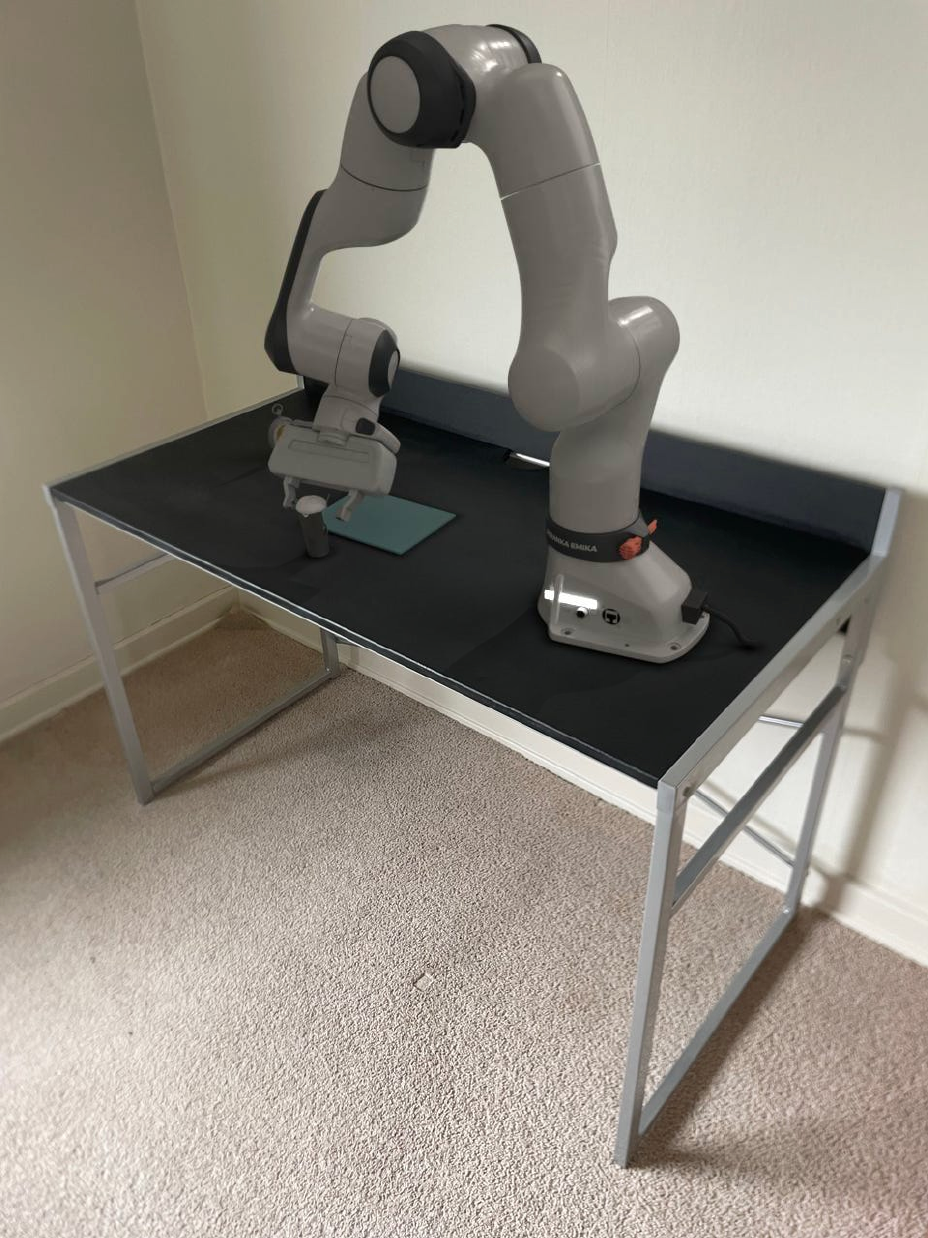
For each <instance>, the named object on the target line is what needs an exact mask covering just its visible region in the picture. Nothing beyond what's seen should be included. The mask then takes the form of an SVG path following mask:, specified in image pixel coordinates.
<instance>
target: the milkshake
mask: <svg viewBox="0 0 928 1238" xmlns="http://www.w3.org/2000/svg"><path fill="white" fill-rule="evenodd" d="M330 494H331V493H328V495H327V498H326V499H325V498H324V497H322V496H319V495H315V494H312V495H304V496H302V497H300V498H299V499H298V500H299V501H298V502H297V504H296V514H297V517H298V520H299V524H300V528H301V531H302V535H303V539H304V543H305V547H306V551H307V555H308V556H310V557H311V558H316V559H317V558H322V557H326V556H327V555H328V554H330V540H329V531H328V525H327V507H328V500H329V497H330Z"/></svg>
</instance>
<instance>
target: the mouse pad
mask: <svg viewBox="0 0 928 1238" xmlns="http://www.w3.org/2000/svg"><path fill="white" fill-rule="evenodd" d="M350 498H351V497H349V496H348V494H347V495H345V496H344V497H343V498H340V499H339V500H337V501H335V502H334V503H332V504H331V505H328V506H327V525H328V533H333V534H335V535H338V536H341V537H345V538H347V539H351V540H353V541H356V542H359V543H363V544H366V545H369V546H371V547H375V548H377V549H380V550H384V551H387V552H389V553H393V554H396V555H398V556H402V555H403V554H405V553H406V552H408V551H409V550H411V549H412V548H413V547H415V546H417V545H418V544H419V543H421V542H422V541H423V540H424V539H426V538H428V537H429V536H430V535H432V534H433V533H435V532H436V531H437V530H439V529H440V528H442V527H443V526H445V525H446V524H448V523H449V522H451V521H452V520H453V519H454V518H456V516H457V515H456V514H455V513H453V512H452V513H451V512H448V511H444V510H441V509H437V508H434V507H431V506H428V505H423V504H421V503H417V502H414V501H410V500H407V499H403V498H400V497H398V496H397V497H396V496H392V495H389V494H387V495H386V496H385V497H384V498H382V499H380V498H375V497H370V496H364V499H363V502H362V503H361V504H360V505H359V506H358V507H357V508H356V509H355V510H354V511H353V512H352V513H351V516H350V519H349V521H348V522H344V521H340V520H338V519H336V518H335V514H336V512H337V508H338V506H341V507H343V506H344V505H345V503H346V502H347V501H348V500H349V499H350Z"/></svg>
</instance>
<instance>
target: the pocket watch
mask: <svg viewBox="0 0 928 1238" xmlns="http://www.w3.org/2000/svg"><path fill="white" fill-rule="evenodd" d="M276 406H279V407H280V409H279V408H277V409H276V412H275V411H274V409H275V407H276ZM283 409H284V408H283V405H282V404H280V403H276V404H274V405H273V406H272V407H271V413H273V415H276V416H277V417H276V418H275V419H274V420H273V421H271V424H270V426H269V428H268V432H267V442H268V445H269V447H270V448H271V450H272V451H273V449H274V447H275V445H276V443H277V441H278V439H279V438H280V436H281V434H282V431H283V428H284V427H285V425H287V424H289V423H291V422H293V421H294V420H293V419H291V418H290V417H288V416H282V413H283ZM292 426H294V425H292Z"/></svg>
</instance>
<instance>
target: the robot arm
mask: <svg viewBox="0 0 928 1238" xmlns="http://www.w3.org/2000/svg"><path fill="white" fill-rule="evenodd" d="M469 143H470V144H472V145H474V146H476V147H478V148H479V149H480V150H481V151H482V152H483V154H484V155H485V157H486V158H487V160H488V162H489V165H490V168H491V171H492V174H493V177H494V183H495V186H496V189H497V194H498V196H499V197H498V198H499V200H500V205H501V207H502V211H503V215H504V218H505V223H506V225H507V229H508V233H509V237H510V240H511V244H512V249H513V253H514V256H515V260H516V265H517V269H518V275H519V276H518V277H519V283H520V285H519V286H520V301H521V304H520V305H521V306H520V307H521V309H520V313H521V314H520V330H519V337H518V338H519V340H518V343H517V348H516V351H515V354H514V356H513V358H512V361H511V363H510V365H509V368H508V372H507V388H508V394H509V397H510V400H511V403H512V405H513V407H514V409H515V411H516V412H517V413H518V415H519V416H520V417H521V418H522V420H523V421H525V422H526V423H527V424H528V425H529V426H531V427H532V428H534V429H536V430H539V431H542V432H546V433H547V432H548V433H554V432H555V433H556V432H559V434H558V437H557V438H556V440H555V441H554V443H553V446H552V448H551V451H550V455H549V461H548V464H549V465H548V466H549V467H548V468H549V469H548V471H549V473H548V474H549V477H548V479H549V486H548V487H549V492H548V494H549V500H548V501H549V507H548V508H547V510H546V514H545V539H546V543H547V546H548V549H547V550H548V551H547V562H546V569H545V574H544V580H543V584H542V588H541V592H540V594H539V598H538V600H537V611H538V614H539V615H540V617H541V619H542V620H543V621H544V622H545V623H546V625H547V631H548V632H547V633H548V636H549V638H550V640H552V641H553V642H558V643H563V644H566V645H571V646H576V647H580V648H585V649H591V650H595V651H599V652H604V653H609V654H613V655H617V656H623V657H628V658H632V659H636V660H640V661H646V662H651V663H656V664H665V663H668V662H671V661H674V660H676V659H678V658H680V657H682V656H684V655H685V654H686V653H688V652H689V651H691V650H692V649H693V648H694V647H695V646H696V645H697V644H698V643H699V642H700V640H702V638H703V636H704V635H705V633H706V631H707V630H708V627H709V624H710V616H711V617H713V618H716V619H718V620H719V621H721V622H723V623H724V624H725V625H727V626H728V627H730V629H731V630H732V632H733V634H734V636H735V637H736V639H737V640H738V642H740V644H742V645H744V646H747V647H752V648H757V647H758V644H759V641H758V640H752V639H748V638H747V637H746V636H744V635H743V633H742V631H741V629H740V627H739V626H738V624H737V623H736V622H735V621H733V619H731V618H730V617H728V615H725V614H724V613H722V612H720V611H718V610H715V609H714V608H712V607H710V606H708V605H707V599H708V591H706V590H700V589H696V588H693V586H692V581H691V579H690V576H689V574H688V573H687V572H686V571H685V570H684V569H683V568H682V567H680V565H678V564H677V563H676V562H675V561H674V560H673V559H671V557H669V556H668V555H667V554H666V553H665V552H664V551H663V550H662V549H661V548H659V546H658V545H656V544H655V543H654V542H653V541H652V540H651V534H652V533H654V531H655V530H656V529H657V522H658V520H657V519H653V521H652V522H650V524H647V523H646V522H645V519H644V516H643V514H642V511H641V509H640V508H639V505H640V491H641V490H640V489H641V476H642V464H643V463H642V462H643V458H644V457H643V456H644V451H645V446H646V442H647V438H648V434H649V431H650V427H651V424H652V420H653V417H654V414H655V409H656V407H657V402H658V399H659V395H660V393H661V390H662V386H663V383H664V380H665V378H666V375H667V373H668V371H669V370H670V367H671V366H672V363H673V362H674V360H675V358H676V356H677V354H678V352H679V349H680V342H681V332H680V327H679V326H680V325H679V324H678V321H677V318H676V316H675V314H674V313H673V311H672V310H671V309H670V308H669V307H668V305H666V304H665V302H663V301H661V300H660V299H658V298H655V297H653V296H650V295H629V296H621V297H615V298H611V299H609V280H610V279H609V278H610V272H611V271H610V270H611V265H612V261H613V258H614V256H615V253H616V250H617V248H618V231H617V230H618V229H617V227H616V222H615V217H614V214H613V210H612V205H611V201H610V197H609V194H608V193H609V192H608V189H607V185H606V181H605V177H604V173H603V169H602V165H601V164H600V163H601V161H600V157H599V153H598V149H597V147H596V142H595V140H594V135H593V134H592V130H591V127H590V125H589V122H588V118H587V116H586V113H585V111H584V108H583V106H582V104H581V101H580V99H579V96H578V93H577V92H576V90H575V88H574V86H573V83H572V81H571V79H570V78H569V76H568V74H567V73H566V72H565V71H564V70H563V69H561V68H560V67H558V66H556V65H554V64H551V63H545V62H543V60H542V57H541V54H540V52H539V50H538V48H537V46H536V44H535V43H534V42H533V41H532V39H531V38H530V37H529V36H528V35H527V34H525V33H524V32H522V31H521V30H520V29H517V28H515V27H512V26H508V25H505V24H500V23H489V24H487V25H477V24H461V23H451V24H444V25H439V26H434V27H430V28H426V29H422V30H409V31H406V32H403V33H400V34H398V35H395V36H394V37H392V38H390V39H389V40H387V41H386V42H385V43H383V44H382V45H381V46H380V47H379V48H378V49H377V50H376V52H375V53H374V54H373V56H372V58H371V61H370V63H369V66H368V70H367V71H365V73H364V74H362V76H361V77H360V79H359V81H358V82H357V85H356V88H355V91H354V94H353V97H352V100H351V104H350V108H349V111H348V115H347V119H346V124H345V128H344V133H343V137H342V143H341V149H340V157H339V162H338V163H339V165H338V168H337V172H336V175H335V177H334V179H333V181H332V182H331V184H330V185H329V186H328V187H327V188H324V189H320V190H316V191H315V192H314V194H313V195H312V197H311V198H310V200H308V203H307V205H306V207H305V209H304V211H303V214H302V216H301V219H300V221H299V225H298V228H297V231H296V234H295V238H294V241H293V243H292V247H291V251H290V254H289V258H288V261H287V265H286V268H285V272H284V274H283V279H282V283H281V286H280V288H279V293H278V296H277V299H276V302H275V305H274V308H273V311H272V313H271V314H270V317H269V318H268V322H267V325H266V328H265V332H264V336H263V337H264V340H263V349H264V351H265V354H266V355H267V357H268V358H269V360H270V361H271V363H272V364H273V366H274V367H275V368H276V370H278V371H279V372H282V373H287V374H290V375H295V376H300V377H307V378H310V379H312V380H316V381H318V382H321V383H326V384H328V386H327V388H326V390H325V391H324V393H323V394H322V396H321V399H320V402H319V405H318V408H317V410H316V413H315V417H314V419H313V421H304V420H301V419H294V420H292V421H293V422H291V423H289V424H287V425H285V427H284V428H283V431H282V434H281V436H280V438H279V439H278V440H277V443H276V445H275V447H274V449H273V450H272V452H271V454H270V457H269V459H268V461H267V466H268V470H269V472H270V473H271V474H272V475H274V476H276V477H277V478H279V479H281V480H283V482H282V483H283V489H284V494H285V497H284V500H283V503H282V507H283V508H285V509H286V510H290V511H296V504H297V502H298V501H299V500H300V499H298V498H297V496H296V489H299V487H300V484H301V483H302V484H306V485H311V486H317V487H320V488H321V487H322V488H326V489H331V490H337V491H341V492H346V493H348V494H347V495H348V496H349V497H351V498H350V499H349V500H348V501H347V502H346V503H345V505H344V506H343V507H341V506H338V508H337V512H336V514H335V518H336V519H338V520H340V521H344V522H348V521H349V519H350V516H351V513H352V512H353V511H354V510H355V509H356V508H357V507H358V506H359V505H360V504H361V503H362V502H363V499H364V496H370V497H375V498H380V499H382V498H384V497H385V496H386V495H389V494H390V492H391V489H392V486H393V482H394V479H395V474H396V470H397V461H398V460H397V457H396V454H397V453H399V450H400V447H401V441H400V440H399V439H398V438H397V437H396V436H395V435H394V434H393V433H392V432H391V431H389V429H387V428H386V427H384V426H383V425H382V424H380V423H378V420H379V416H380V405H381V402H382V401H383V399H384V398H385V396H386V394H388V393H389V392H390V391H392V389H393V386H394V383H395V379H396V376H397V373H398V370H399V367H400V363H401V351H400V349H399V346H398V343H399V341H398V336H397V334H396V332H395V331H394V330H393V329H392V328H391V327H390V326H389V325H388V324H386V323H385V322H383V321H380V320H378V319H376V318H372V317H359V318H357V317H353V316H352V317H351V316H350V315H349V316H348V315H346V314H342V313H339V312H336V311H333V310H331V309H330V310H329V309H327V308H324V307H321V306H320V305H318V304H316V303H315V301H314V300H313V294H314V291H315V288H316V285H317V282H318V280H319V276H320V272H321V269H322V267H323V263H324V260H325V257H326V255H327V254H329V253H331V252H334V251H338V250H343V249H352V248H374V247H379V246H384V245H387V244H391V243H394V242H395V241H398V240H400V239H401V238H403V237H405V236H407V235H408V234H409V233H410V232H411V231H412V230H413V229H414V228H415V227H416V226H417V224H418V223H419V221H420V219H421V217H422V214H423V212H424V208H425V206H426V201H427V197H428V193H429V190H430V185H431V179H432V175H433V174H432V173H433V167H434V161H435V156H436V152H437V150H439V149H442V150H443V149H446V150H447V149H449V150H455V149H458V148H459V147H461V145H462V144H469ZM292 425H294V426H292ZM296 512H297V511H296Z"/></svg>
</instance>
